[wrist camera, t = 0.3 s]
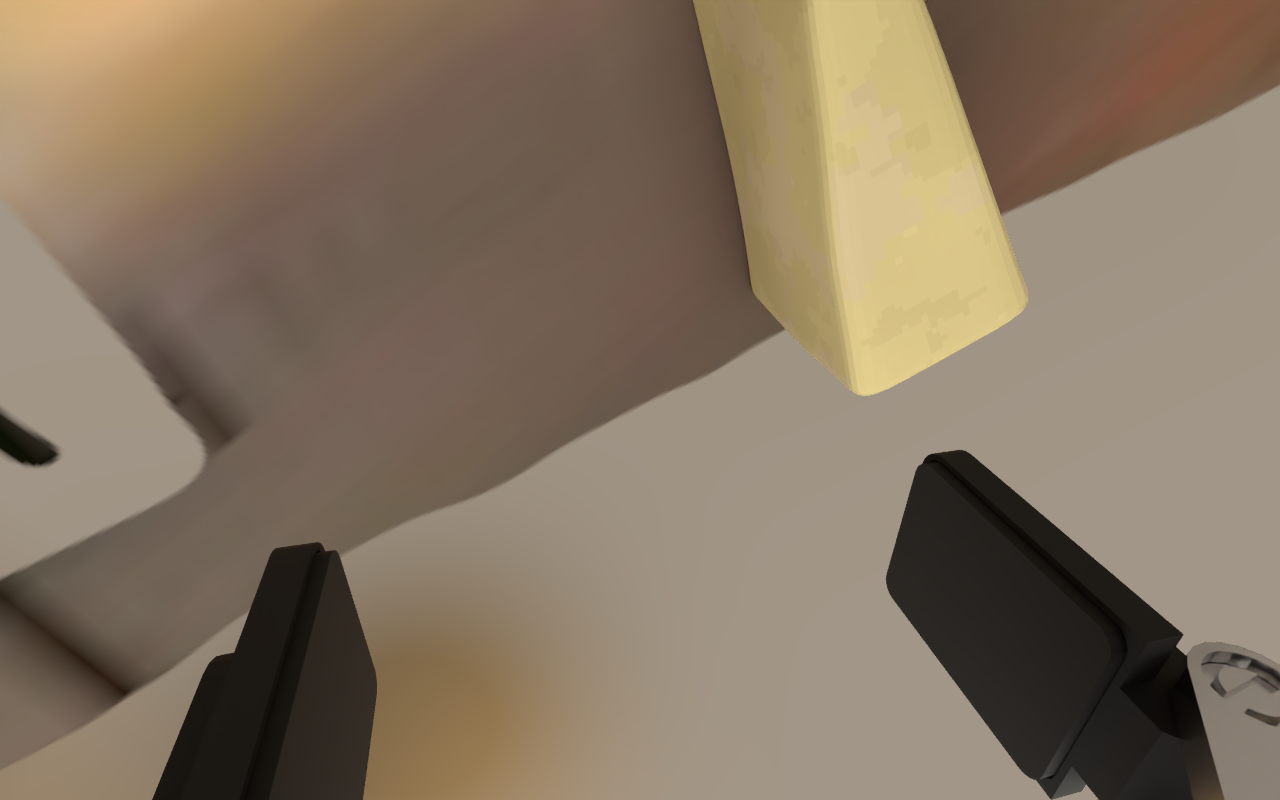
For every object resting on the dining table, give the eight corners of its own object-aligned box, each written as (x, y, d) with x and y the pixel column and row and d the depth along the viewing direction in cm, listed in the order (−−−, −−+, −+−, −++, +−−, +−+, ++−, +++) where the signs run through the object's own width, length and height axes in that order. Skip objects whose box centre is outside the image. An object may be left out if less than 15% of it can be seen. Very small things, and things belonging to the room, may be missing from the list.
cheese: (595, -57, 31) (682, -113, 19) (768, -163, 31) (975, -292, 18) (749, 301, 43) (865, 414, 31) (876, 229, 43) (1046, 314, 30)
